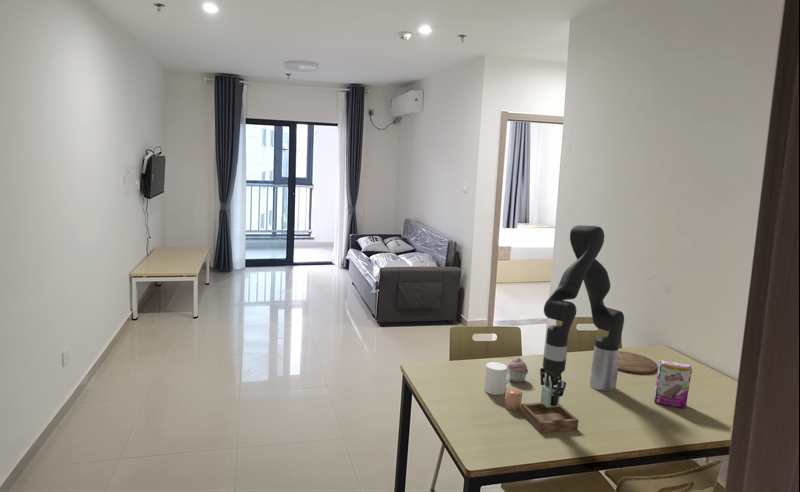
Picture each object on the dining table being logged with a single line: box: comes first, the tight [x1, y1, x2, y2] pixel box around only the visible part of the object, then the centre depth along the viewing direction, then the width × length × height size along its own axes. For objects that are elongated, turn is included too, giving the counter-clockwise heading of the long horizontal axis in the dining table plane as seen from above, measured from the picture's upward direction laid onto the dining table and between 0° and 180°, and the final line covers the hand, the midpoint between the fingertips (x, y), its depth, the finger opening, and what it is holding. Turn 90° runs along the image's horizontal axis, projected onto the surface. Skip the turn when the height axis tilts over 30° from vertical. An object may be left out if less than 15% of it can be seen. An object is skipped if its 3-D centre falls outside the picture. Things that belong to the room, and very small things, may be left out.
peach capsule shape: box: [503, 387, 523, 412], centre depth 202 cm, size 6×6×6 cm
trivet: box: [616, 350, 658, 375], centre depth 254 cm, size 25×25×2 cm
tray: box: [519, 402, 580, 434], centre depth 192 cm, size 14×14×4 cm
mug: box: [483, 361, 511, 396], centre depth 216 cm, size 8×10×12 cm
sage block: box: [540, 385, 560, 407], centre depth 191 cm, size 4×4×6 cm
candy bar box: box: [653, 359, 693, 409], centre depth 211 cm, size 11×5×16 cm, turn 71°
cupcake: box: [506, 356, 529, 384], centre depth 227 cm, size 9×9×10 cm
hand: (549, 402), depth 192 cm, fingers closed on sage block, 4 cm apart
